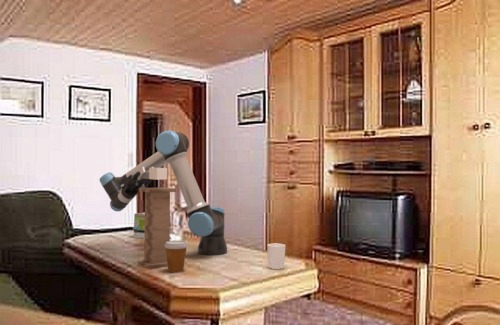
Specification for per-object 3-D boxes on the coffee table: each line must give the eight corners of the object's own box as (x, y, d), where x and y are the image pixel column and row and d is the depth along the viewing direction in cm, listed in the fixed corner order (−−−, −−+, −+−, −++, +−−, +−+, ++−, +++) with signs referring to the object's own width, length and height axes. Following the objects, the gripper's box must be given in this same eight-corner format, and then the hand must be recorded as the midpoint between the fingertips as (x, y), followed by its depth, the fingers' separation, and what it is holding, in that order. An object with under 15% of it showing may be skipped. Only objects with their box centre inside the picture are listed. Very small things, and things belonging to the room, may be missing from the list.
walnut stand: (137, 264, 203) (138, 187, 204) (161, 260, 211) (162, 187, 211) (151, 269, 194) (152, 189, 194) (175, 265, 202) (176, 188, 202)
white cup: (279, 270, 194) (280, 247, 194) (263, 268, 199) (264, 245, 199) (288, 267, 201) (288, 244, 201) (272, 265, 205) (272, 242, 205)
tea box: (147, 239, 271) (147, 214, 271) (133, 238, 274) (133, 213, 274) (161, 235, 285) (161, 211, 285) (147, 234, 288) (147, 211, 288)
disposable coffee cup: (188, 272, 189) (189, 243, 189) (165, 274, 186) (165, 244, 186) (185, 267, 198) (185, 239, 198) (163, 268, 195) (163, 240, 195)
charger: (135, 178, 214) (135, 167, 214) (145, 178, 217) (145, 167, 217) (156, 179, 198) (157, 168, 198) (167, 179, 202) (167, 168, 202)
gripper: (145, 198, 229) (166, 176, 214) (113, 200, 218) (133, 176, 202) (142, 185, 232) (162, 162, 216) (110, 186, 221) (129, 162, 205)
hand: (148, 169), depth 209 cm, fingers closed on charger, 4 cm apart
